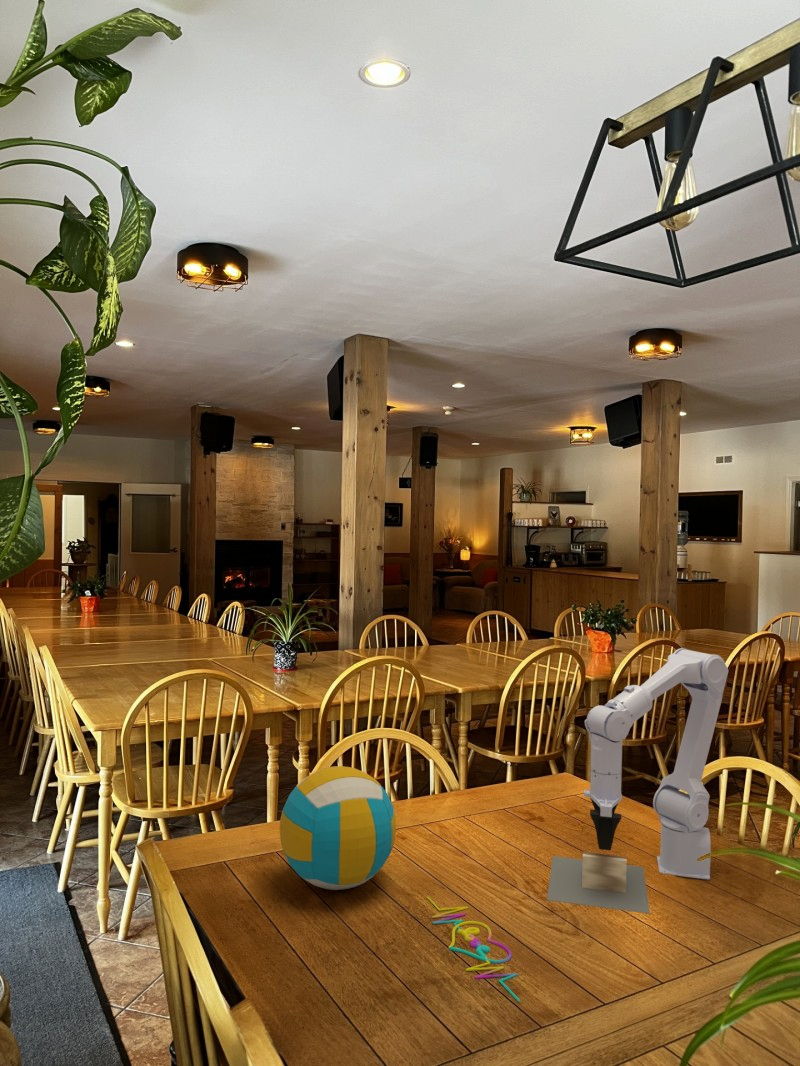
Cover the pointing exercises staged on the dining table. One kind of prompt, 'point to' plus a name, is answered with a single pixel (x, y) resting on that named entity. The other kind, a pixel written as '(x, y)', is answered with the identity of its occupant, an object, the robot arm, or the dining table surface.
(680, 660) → the robot arm
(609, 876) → the tile
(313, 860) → the volleyball
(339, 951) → the dining table surface
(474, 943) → the decorative art
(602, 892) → the mat
